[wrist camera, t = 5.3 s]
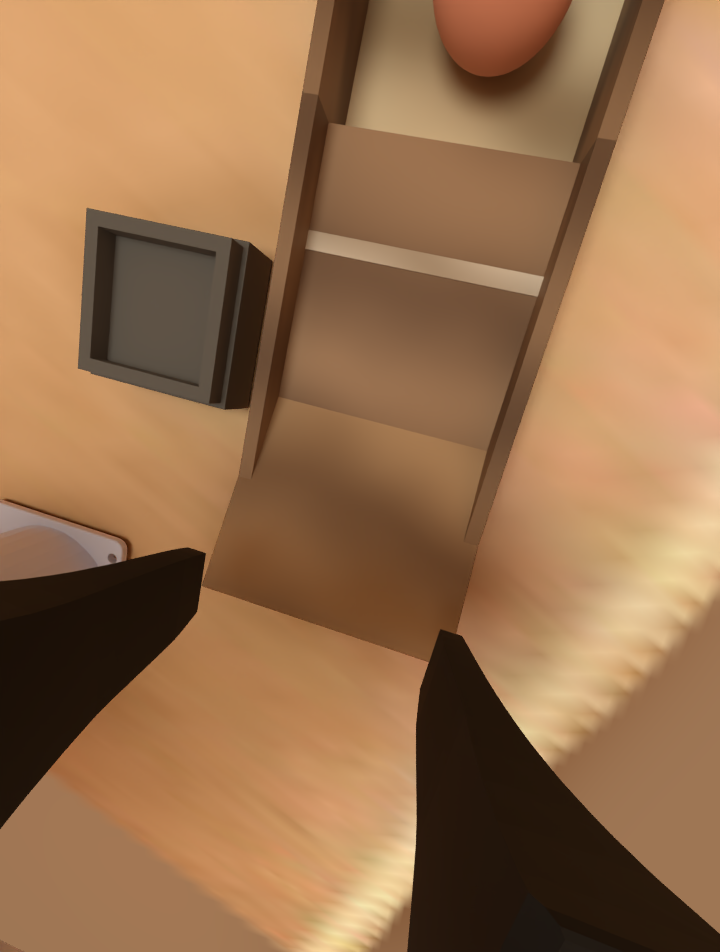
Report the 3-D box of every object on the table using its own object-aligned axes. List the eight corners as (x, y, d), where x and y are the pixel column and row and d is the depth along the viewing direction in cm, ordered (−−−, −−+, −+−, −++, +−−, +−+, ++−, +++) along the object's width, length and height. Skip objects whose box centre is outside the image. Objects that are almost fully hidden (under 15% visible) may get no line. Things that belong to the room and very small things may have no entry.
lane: (441, 605, 17) (444, 677, 13) (255, 547, 18) (200, 594, 14) (662, -65, 11) (801, -344, 7) (373, -91, 13) (343, -346, 8)
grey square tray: (248, 407, 17) (213, 410, 14) (127, 375, 18) (73, 372, 15) (272, 261, 15) (238, 232, 13) (140, 233, 16) (82, 200, 13)
